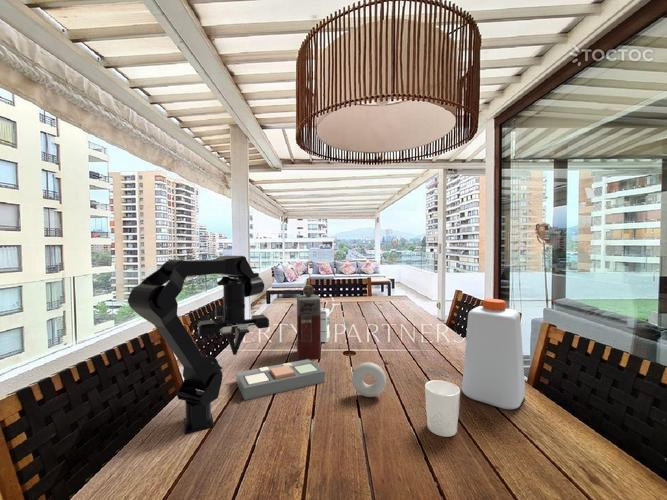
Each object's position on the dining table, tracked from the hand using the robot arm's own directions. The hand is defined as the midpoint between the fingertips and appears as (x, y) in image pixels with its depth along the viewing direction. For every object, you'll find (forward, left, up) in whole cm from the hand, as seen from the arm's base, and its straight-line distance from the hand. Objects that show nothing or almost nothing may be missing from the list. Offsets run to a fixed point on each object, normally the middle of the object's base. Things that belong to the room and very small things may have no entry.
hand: (234, 354), depth 88 cm
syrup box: (+37, -45, -13) cm, 60 cm away
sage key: (+3, -23, -11) cm, 26 cm away
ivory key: (+3, -7, -11) cm, 14 cm away
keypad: (+5, -15, -13) cm, 20 cm away
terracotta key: (+3, -15, -11) cm, 19 cm away
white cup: (-37, -42, -13) cm, 57 cm away
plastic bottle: (-32, -68, -13) cm, 76 cm away
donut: (-16, -35, -13) cm, 41 cm away
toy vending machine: (+22, -32, -13) cm, 41 cm away
